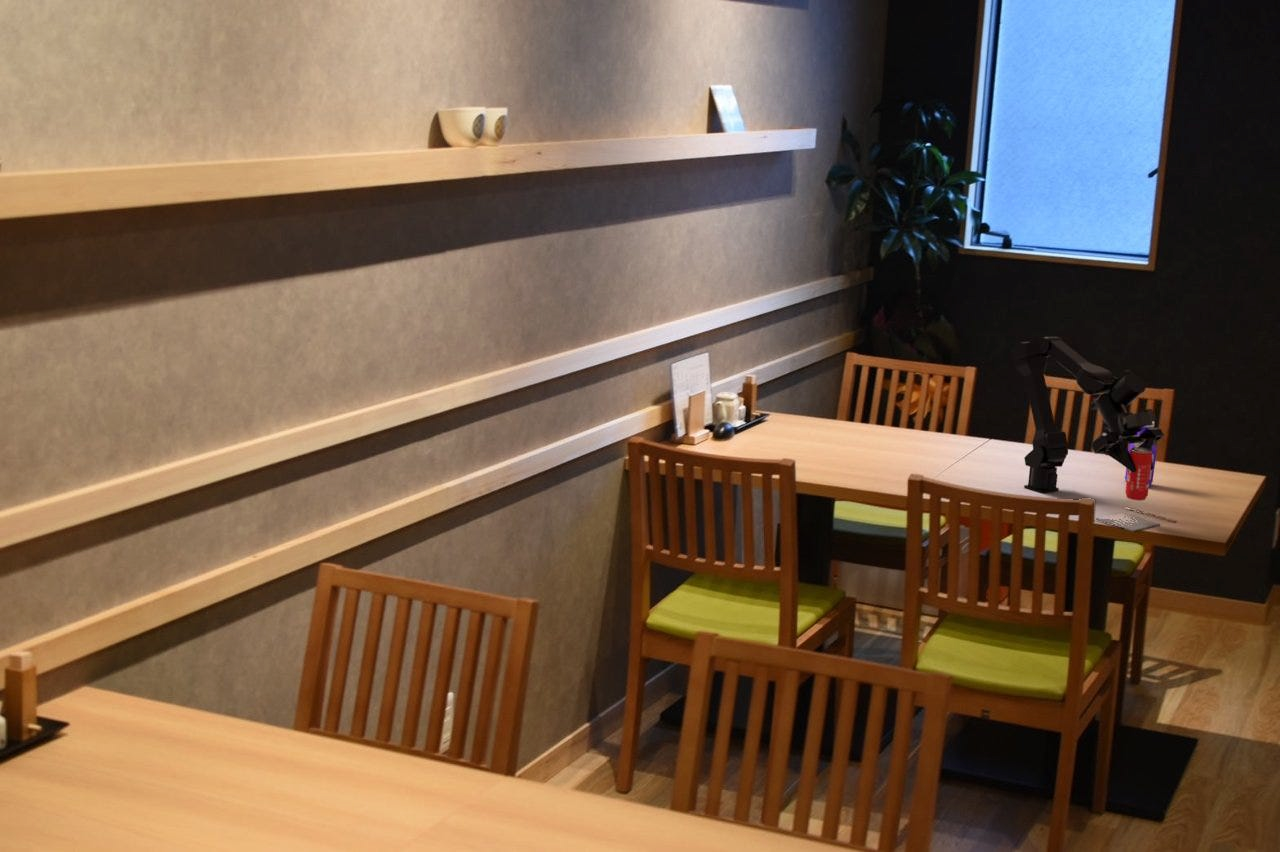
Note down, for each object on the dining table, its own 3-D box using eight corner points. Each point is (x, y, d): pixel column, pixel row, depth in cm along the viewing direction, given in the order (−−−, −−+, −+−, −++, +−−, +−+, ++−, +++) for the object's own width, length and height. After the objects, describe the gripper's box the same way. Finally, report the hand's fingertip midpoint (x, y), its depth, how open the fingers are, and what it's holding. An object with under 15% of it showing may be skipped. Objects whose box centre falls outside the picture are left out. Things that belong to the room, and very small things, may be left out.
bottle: (1152, 483, 408) (1160, 420, 404) (1152, 488, 402) (1160, 424, 398) (1124, 480, 410) (1131, 417, 406) (1123, 485, 405) (1131, 421, 401)
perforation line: (1124, 508, 381) (1124, 507, 381) (1127, 508, 382) (1127, 506, 382) (1173, 522, 371) (1174, 521, 371) (1176, 522, 371) (1176, 520, 371)
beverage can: (1140, 502, 365) (1145, 453, 362) (1120, 497, 369) (1125, 449, 366) (1151, 498, 368) (1156, 450, 365) (1132, 493, 372) (1137, 446, 369)
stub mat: (1093, 520, 370) (1093, 518, 370) (1121, 514, 376) (1121, 512, 376) (1132, 531, 361) (1132, 530, 361) (1159, 525, 368) (1160, 523, 368)
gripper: (1106, 399, 362) (1135, 456, 355) (1163, 395, 371) (1192, 450, 364) (1078, 424, 370) (1106, 480, 364) (1135, 419, 379) (1163, 473, 372)
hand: (1143, 470), depth 366 cm, fingers closed on beverage can, 5 cm apart
